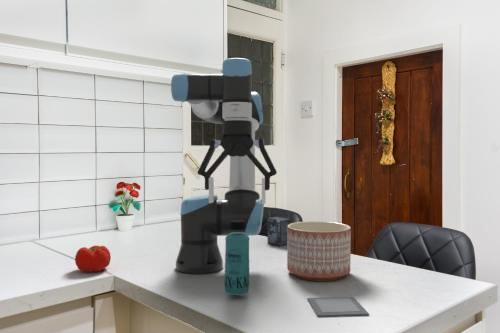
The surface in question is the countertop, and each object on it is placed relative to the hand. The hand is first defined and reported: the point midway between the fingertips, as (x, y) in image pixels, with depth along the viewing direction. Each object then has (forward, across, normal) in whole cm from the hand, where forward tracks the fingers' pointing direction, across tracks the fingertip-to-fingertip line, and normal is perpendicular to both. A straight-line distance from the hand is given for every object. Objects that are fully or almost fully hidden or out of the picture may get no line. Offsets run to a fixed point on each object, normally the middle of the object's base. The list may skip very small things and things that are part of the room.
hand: (237, 203), depth 115 cm
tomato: (+25, -49, +21) cm, 59 cm away
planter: (+25, +22, +24) cm, 41 cm away
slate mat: (+24, +25, -5) cm, 35 cm away
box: (+25, +8, +66) cm, 71 cm away
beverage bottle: (+25, 0, 0) cm, 25 cm away
